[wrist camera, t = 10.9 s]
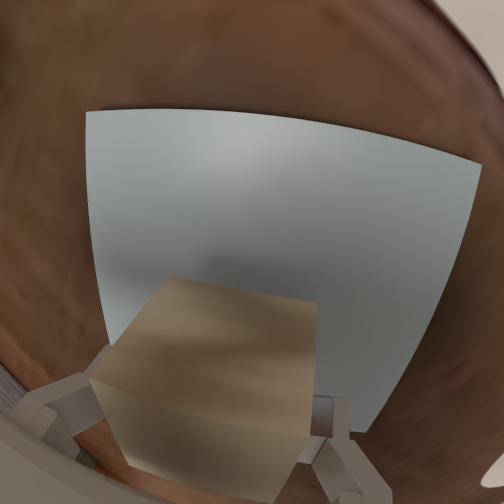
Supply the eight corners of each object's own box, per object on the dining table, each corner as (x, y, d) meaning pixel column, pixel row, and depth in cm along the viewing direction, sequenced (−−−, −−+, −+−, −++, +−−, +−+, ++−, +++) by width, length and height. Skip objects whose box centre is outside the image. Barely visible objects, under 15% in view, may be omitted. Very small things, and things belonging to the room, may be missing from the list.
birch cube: (317, 302, 10) (309, 437, 5) (290, 397, 12) (272, 504, 8) (169, 275, 10) (88, 377, 6) (176, 373, 13) (129, 465, 8)
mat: (470, 160, 10) (481, 165, 9) (365, 420, 17) (365, 432, 16) (99, 110, 12) (86, 112, 11) (126, 369, 19) (119, 379, 18)
